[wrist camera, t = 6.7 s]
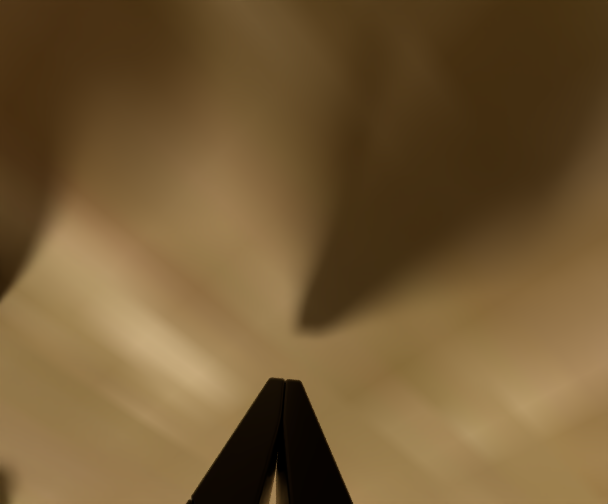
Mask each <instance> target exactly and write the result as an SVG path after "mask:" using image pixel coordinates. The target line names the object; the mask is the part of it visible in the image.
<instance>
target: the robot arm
mask: <svg viewBox="0 0 608 504" xmlns="http://www.w3.org/2000/svg"><path fill="white" fill-rule="evenodd" d="M277 455H278V456H277ZM276 463H277V468H276ZM275 471H276V504H353V502H352V500H351V497H350V495H349V492H348V490H347V488H346V485H345V483H344V481H343V478H342V476H341V474H340V471H339V469H338V467H337V464H336V462H335V459H334V457H333V455H332V452H331V450H330V448H329V445H328V443H327V441H326V438H325V436H324V433H323V431H322V429H321V426H320V424H319V422H318V419H317V417H316V415H315V412H314V410H313V408H312V405H311V403H310V400H309V398H308V396H307V393H306V391H305V389H304V386H303V384H302V382H301V381H300V380H292V379H287V380H286V381H285V380H284V379H281V378H270V379H269V380H268V381H267V382H266V384H265V386H264V387H263V389H262V390H261V392H260V393H259V395H258V396H257V398H256V399H255V401H254V402H253V404H252V405H251V407H250V408H249V410H248V411H247V413H246V414H245V416H244V417H243V419H242V420H241V422H240V423H239V425H238V426H237V428H236V429H235V431H234V432H233V434H232V435H231V437H230V438H229V440H228V441H227V443H226V444H225V446H224V447H223V449H222V450H221V452H220V454H219V455H218V457H217V458H216V460H215V461H214V463H213V464H212V466H211V467H210V469H209V470H208V472H207V473H206V475H205V476H204V478H203V479H202V481H201V482H200V484H199V485H198V487H197V488H196V490H195V491H194V493H193V494H192V496H191V499H190V500H188V502H187V503H186V504H269V501H270V496H271V491H272V487H273V482H274V476H275Z"/></svg>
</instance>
